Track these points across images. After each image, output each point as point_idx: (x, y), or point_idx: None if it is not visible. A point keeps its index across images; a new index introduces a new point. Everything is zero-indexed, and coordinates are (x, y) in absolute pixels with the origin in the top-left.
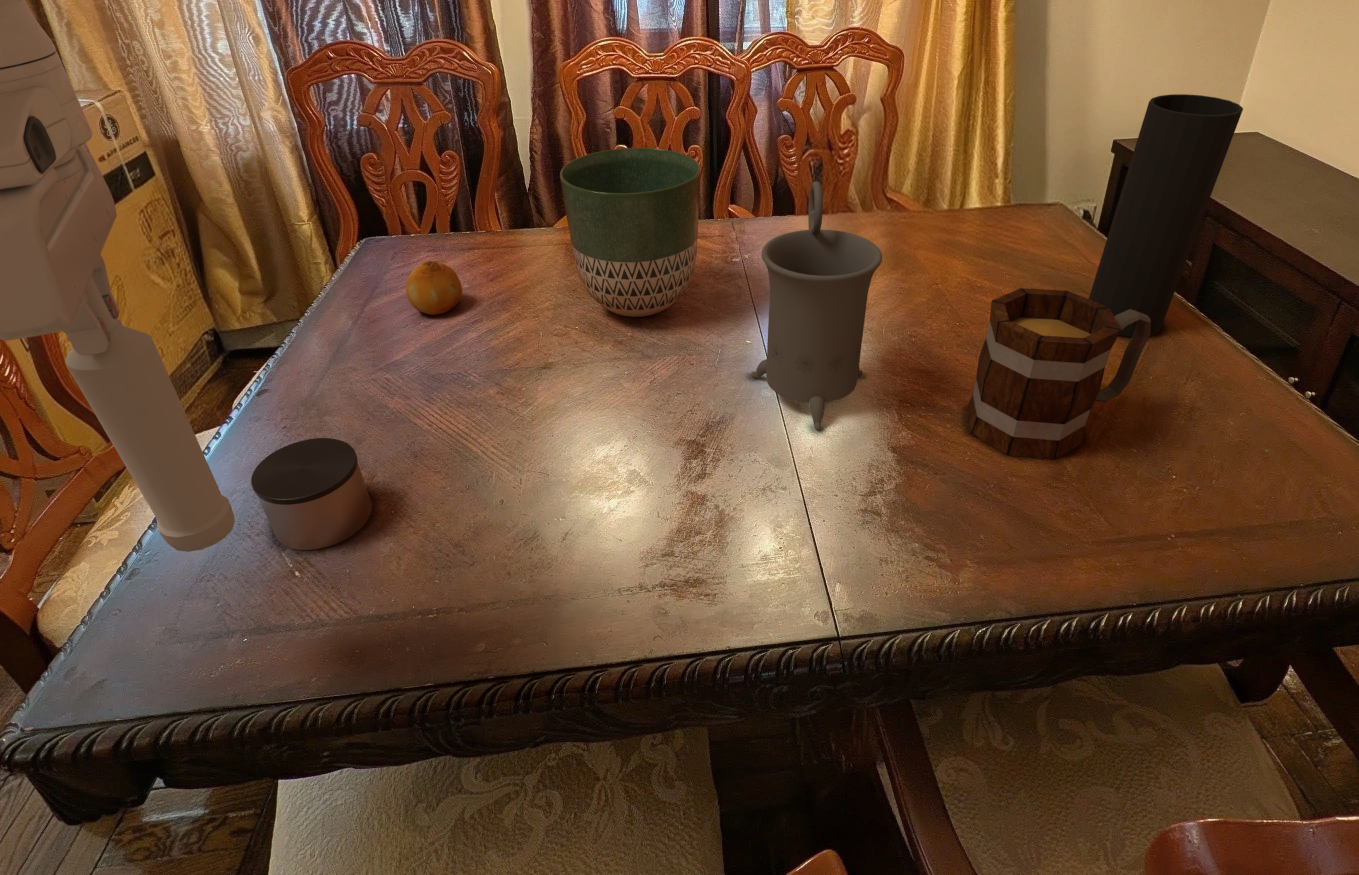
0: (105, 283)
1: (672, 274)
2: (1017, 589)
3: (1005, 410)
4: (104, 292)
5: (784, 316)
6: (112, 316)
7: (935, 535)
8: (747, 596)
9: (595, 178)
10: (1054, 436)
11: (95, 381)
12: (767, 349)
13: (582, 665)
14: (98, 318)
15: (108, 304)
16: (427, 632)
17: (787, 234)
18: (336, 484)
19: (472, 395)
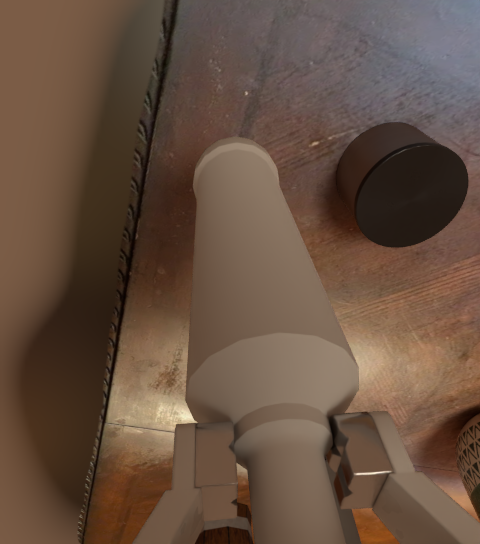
0: (396, 537)
1: (462, 477)
2: (112, 479)
3: (212, 531)
4: (379, 512)
5: None
6: (329, 460)
7: (160, 469)
8: (148, 399)
9: None
10: None
11: (190, 356)
12: (332, 485)
13: (123, 321)
14: (229, 517)
15: (337, 496)
16: (190, 240)
17: None
18: (360, 228)
19: (472, 303)
